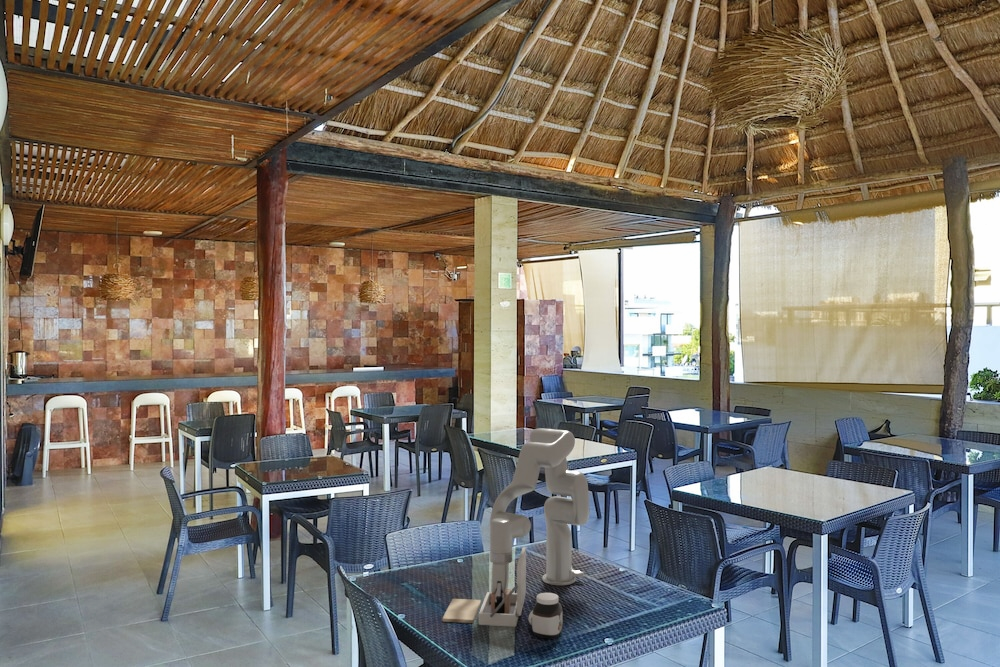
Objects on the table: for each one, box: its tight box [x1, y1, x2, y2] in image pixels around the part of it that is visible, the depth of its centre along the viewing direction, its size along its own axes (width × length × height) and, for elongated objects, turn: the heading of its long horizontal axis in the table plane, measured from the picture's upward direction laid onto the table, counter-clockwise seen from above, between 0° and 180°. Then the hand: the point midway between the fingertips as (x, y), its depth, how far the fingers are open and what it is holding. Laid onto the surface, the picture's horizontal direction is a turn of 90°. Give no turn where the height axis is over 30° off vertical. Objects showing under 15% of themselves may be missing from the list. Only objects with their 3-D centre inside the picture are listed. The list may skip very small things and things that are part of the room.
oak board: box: [441, 598, 482, 624], centre depth 236 cm, size 10×18×1 cm, turn 173°
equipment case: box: [478, 546, 527, 627], centre depth 234 cm, size 14×21×20 cm, turn 173°
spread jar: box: [528, 592, 563, 640], centre depth 220 cm, size 12×11×12 cm
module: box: [491, 588, 512, 614], centre depth 235 cm, size 6×5×7 cm
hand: (500, 610), depth 235 cm, fingers open, 5 cm apart
